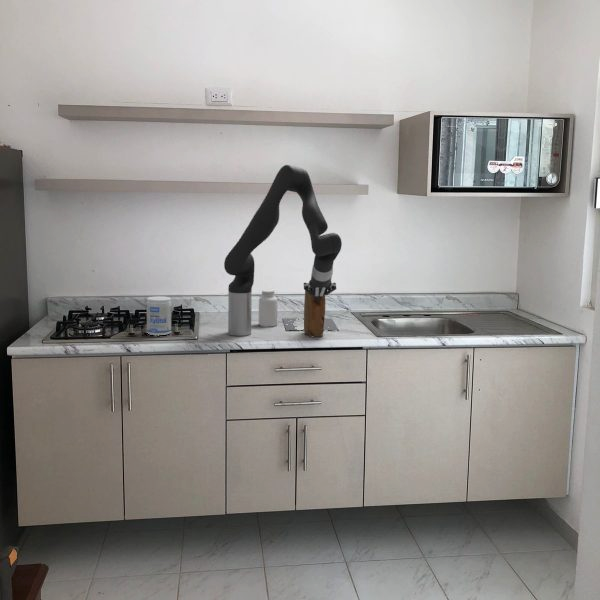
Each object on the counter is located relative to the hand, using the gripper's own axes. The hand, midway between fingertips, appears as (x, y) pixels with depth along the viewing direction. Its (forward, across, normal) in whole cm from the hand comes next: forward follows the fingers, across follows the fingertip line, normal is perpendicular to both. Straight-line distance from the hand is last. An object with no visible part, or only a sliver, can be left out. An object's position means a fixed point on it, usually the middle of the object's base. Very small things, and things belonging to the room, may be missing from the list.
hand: (317, 299), depth 288 cm
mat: (+32, 0, -9) cm, 33 cm away
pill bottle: (+32, +18, -8) cm, 37 cm away
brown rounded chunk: (+19, 0, +4) cm, 20 cm away
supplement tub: (+20, +62, +4) cm, 65 cm away
